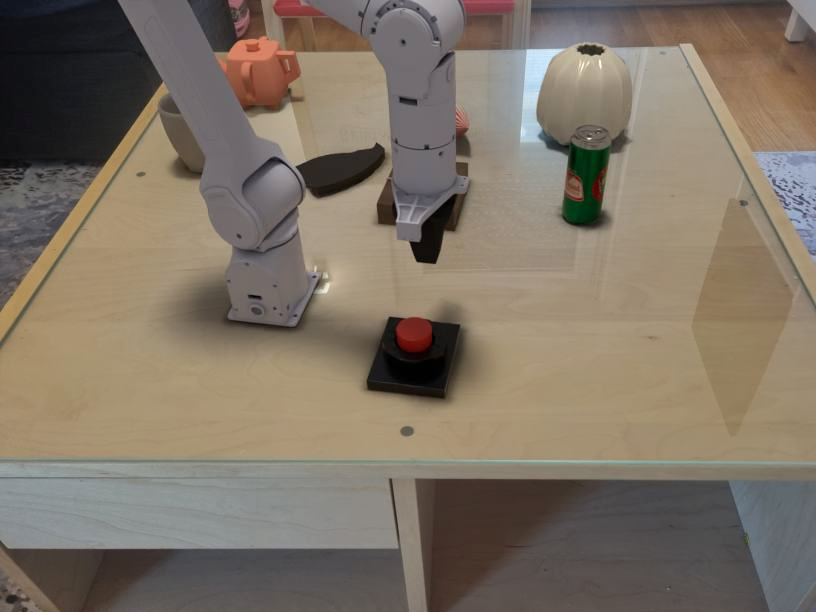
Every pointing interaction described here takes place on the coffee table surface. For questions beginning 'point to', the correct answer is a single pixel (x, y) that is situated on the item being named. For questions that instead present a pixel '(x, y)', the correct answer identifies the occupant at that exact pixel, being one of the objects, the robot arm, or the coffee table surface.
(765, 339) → the coffee table surface
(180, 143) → the mug
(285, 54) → the teapot
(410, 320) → the button
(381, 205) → the dial panel
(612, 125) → the vase
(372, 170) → the fan shaped piece
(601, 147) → the soda can
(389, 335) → the button block
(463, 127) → the ice cream cone
